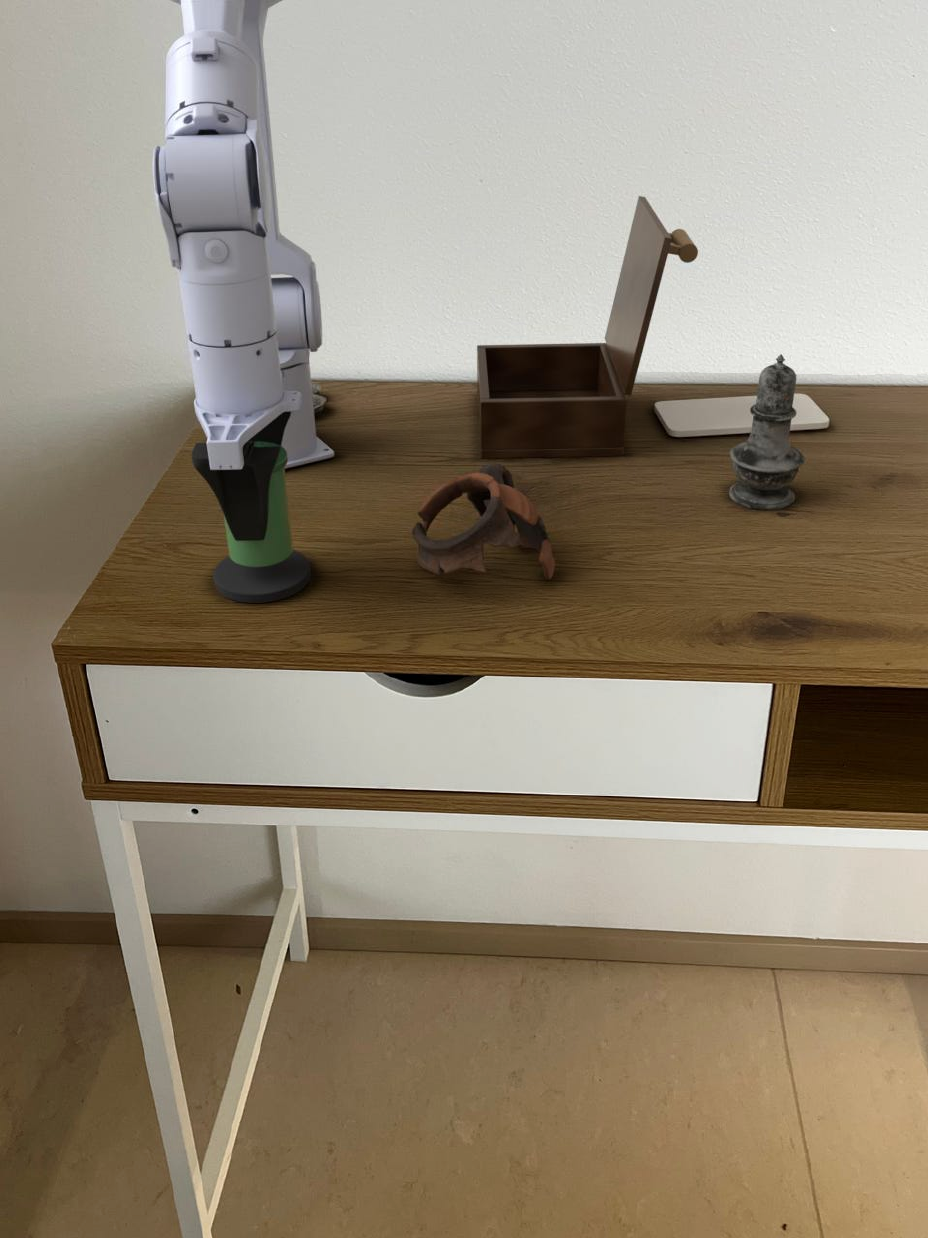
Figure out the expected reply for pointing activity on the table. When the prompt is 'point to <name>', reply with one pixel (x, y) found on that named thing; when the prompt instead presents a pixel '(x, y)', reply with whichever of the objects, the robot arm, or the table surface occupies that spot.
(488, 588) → the table surface
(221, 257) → the robot arm
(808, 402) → the smartphone
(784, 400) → the salt shaker
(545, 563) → the broken clay pot rim
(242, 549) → the green pot
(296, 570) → the disc
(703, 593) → the table surface
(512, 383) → the box
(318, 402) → the corroded twin loop
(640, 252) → the lid
